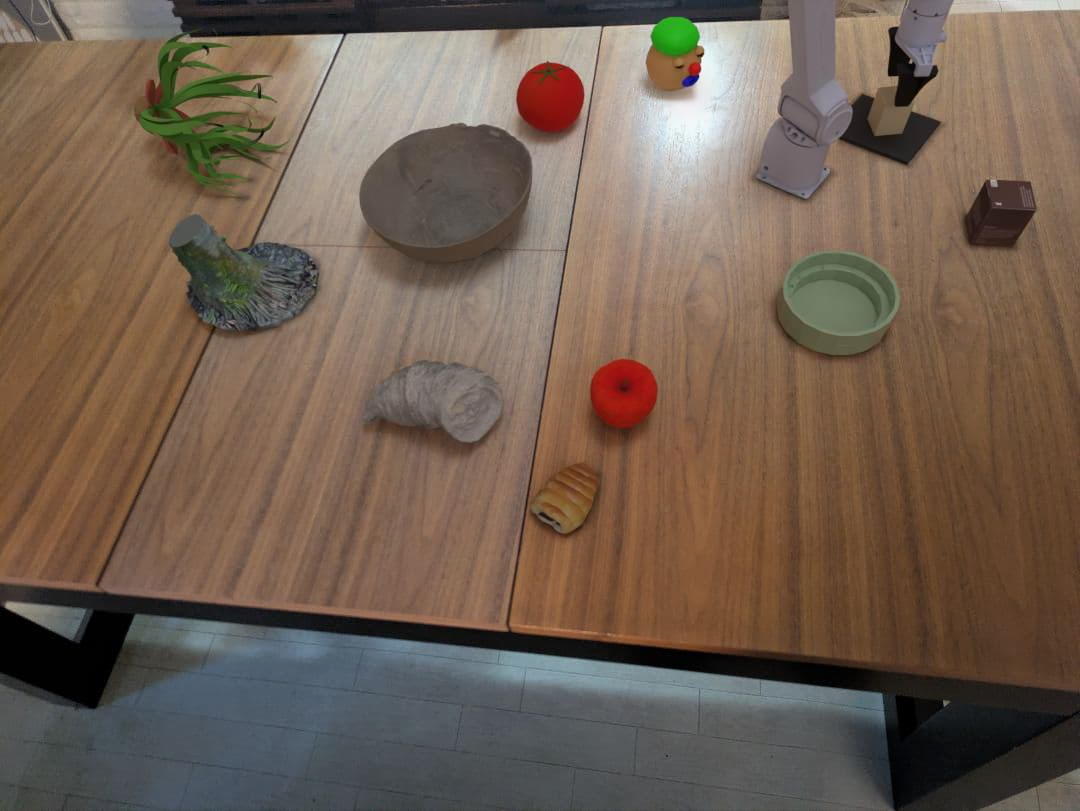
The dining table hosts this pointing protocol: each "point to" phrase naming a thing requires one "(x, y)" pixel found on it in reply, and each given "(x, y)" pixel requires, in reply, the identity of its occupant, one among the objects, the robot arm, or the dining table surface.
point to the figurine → (674, 54)
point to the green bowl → (837, 302)
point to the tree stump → (242, 278)
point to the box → (1000, 212)
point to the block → (888, 113)
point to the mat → (888, 145)
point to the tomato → (550, 97)
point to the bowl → (448, 191)
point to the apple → (623, 393)
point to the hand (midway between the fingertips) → (897, 90)
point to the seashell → (438, 399)
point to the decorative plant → (179, 125)
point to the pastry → (567, 498)
